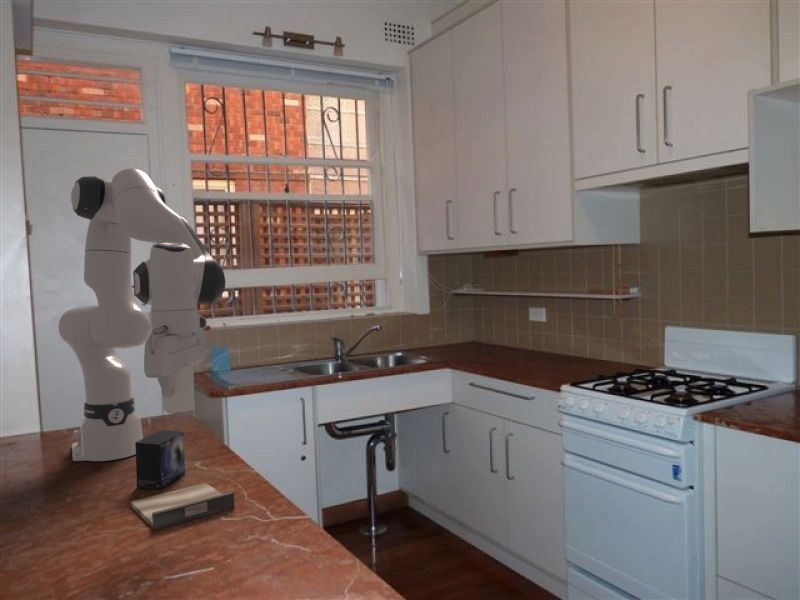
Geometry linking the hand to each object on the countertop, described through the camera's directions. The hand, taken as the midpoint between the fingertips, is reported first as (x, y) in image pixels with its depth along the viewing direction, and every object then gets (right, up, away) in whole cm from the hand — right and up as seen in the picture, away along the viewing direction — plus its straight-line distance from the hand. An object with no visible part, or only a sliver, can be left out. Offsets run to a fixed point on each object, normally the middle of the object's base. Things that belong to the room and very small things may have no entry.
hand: (177, 391), depth 129 cm
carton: (0, -4, 0) cm, 4 cm away
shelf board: (0, -24, +3) cm, 24 cm away
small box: (-10, -23, +18) cm, 31 cm away
